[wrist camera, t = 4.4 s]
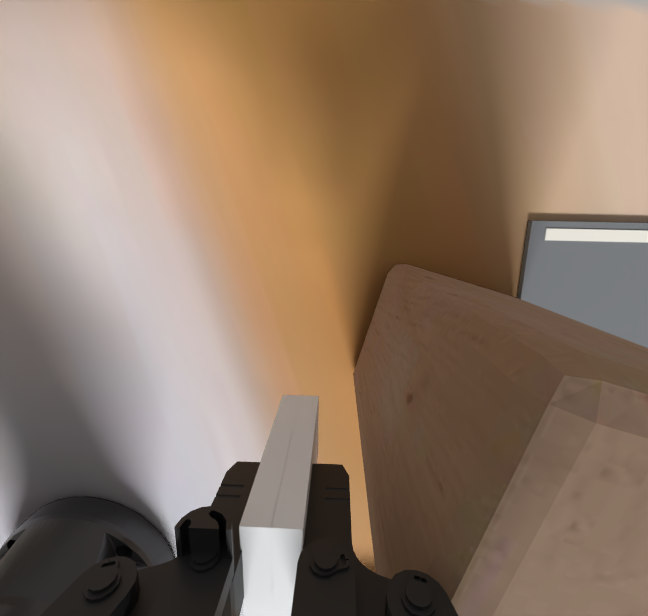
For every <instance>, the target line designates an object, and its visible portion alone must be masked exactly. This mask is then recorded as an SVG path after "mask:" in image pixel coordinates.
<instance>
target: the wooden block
mask: <svg viewBox="0 0 648 616" xmlns="http://www.w3.org/2000/svg"><path fill="white" fill-rule="evenodd" d="M353 375H354V385H355V394H356V403H357V412H358V420H359V429H360V438H361V447H362V456H363V464H364V473H365V482H366V491H367V499H368V508H369V517H370V526H371V535H372V543H373V552H374V561H375V570H376V574H378V575H381V576H384V577H386V578H389V579H392V578H393V576H394V575H395V574H396V573H399V572H401V571H404V570H418V571H420V572H423V573H426V574H428V575H429V576H431V577H432V578H433V579H435V580H436V581H437V582H439V584H440V585H441V586H442V588H443V589H444V590H445V592H446V593H447V595H448V597H449V599H450V601H451V603H452V604H453V606H454V608H455V610H456V612H457V614H458V616H648V348H646V347H644V346H641V345H638V344H636V343H633V342H631V341H628V340H625V339H623V338H620V337H618V336H615V335H612V334H610V333H607V332H605V331H602V330H599V329H597V328H594V327H591V326H589V325H586V324H584V323H581V322H578V321H576V320H573V319H571V318H568V317H565V316H563V315H560V314H558V313H555V312H552V311H550V310H547V309H544V308H542V307H539V306H537V305H534V304H531V303H529V302H526V301H524V300H521V299H518V298H516V297H513V296H510V295H507V294H503V293H500V292H497V291H494V290H490V289H487V288H484V287H480V286H477V285H474V284H471V283H467V282H464V281H461V280H458V279H454V278H451V277H448V276H444V275H441V274H438V273H435V272H431V271H428V270H425V269H422V268H418V267H415V266H412V265H408V264H398V265H394V266H393V268H392V269H391V270H390V271H389V272H388V274H387V277H386V280H385V283H384V286H383V288H382V291H381V294H380V297H379V300H378V303H377V306H376V309H375V312H374V315H373V318H372V321H371V323H370V326H369V329H368V332H367V335H366V338H365V341H364V344H363V347H362V350H361V353H360V356H359V359H358V361H357V364H356V367H355V370H354V373H353Z"/></svg>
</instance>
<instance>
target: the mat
mask: <svg viewBox="0 0 648 616" xmlns="http://www.w3.org/2000/svg"><path fill="white" fill-rule="evenodd" d="M517 298H518V299H521V300H524V301H526V302H529V303H531V304H534V305H537V306H539V307H542V308H544V309H547V310H550V311H552V312H555V313H558V314H560V315H563V316H565V317H568V318H571V319H573V320H576V321H578V322H581V323H584V324H586V325H589V326H591V327H594V328H597V329H599V330H602V331H605V332H607V333H610V334H612V335H615V336H618V337H620V338H623V339H625V340H628V341H631V342H633V343H636V344H638V345H641V346H644V347H646V348H648V223H620V222H570V221H528V227H527V234H526V240H525V247H524V254H523V261H522V267H521V274H520V281H519V288H518V295H517Z"/></svg>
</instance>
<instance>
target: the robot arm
mask: <svg viewBox="0 0 648 616" xmlns="http://www.w3.org/2000/svg"><path fill="white" fill-rule="evenodd" d="M318 405H319V396H300V395H283V396H282V399H281V402H280V405H279V408H278V411H277V414H276V417H275V420H274V423H273V426H272V429H271V432H270V435H269V438H268V441H267V444H266V447H265V450H264V453H263V456H262V459H261V462H237V463H235V464H234V465H233V466H232V467H231V468H230V469H229V470H228V471H227V472H226V474H225V477H224V479H223V481H222V483H221V487H219V490H218V492H217V494H216V497H215V498H214V501H213V503H212V505H211V506H208V507H201V508H199V509H196V510H193V511H191V512H190V513H188V514H187V515H185V516H184V517H183V518H181V519H180V521H179V522H178V523H177V525H176V526H175V538H176V548H177V557H176V558H175V559H174V557H173V554H172V552H171V550H170V548H169V546H168V544H167V542H166V541H165V539H164V538H163V537H162V535H161V534H160V533H159V532H158V531H157V529H156V528H155V527H154V526H153V525H151V524H150V523H149V522H148V521H147V520H146V519H144V518H143V517H142V516H140V515H139V514H137V513H135V512H134V511H132V510H130V509H128V508H126V507H124V506H122V505H119V504H117V503H114V502H111V501H107V500H103V499H98V498H89V497H73V498H66V499H61V500H58V501H55V502H52V503H49V504H47V505H45V506H43V507H42V508H40V509H39V510H37V511H36V512H35V513H33V514H32V515H31V516H30V517H29V518H28V519H27V520H26V521H25V522H24V523H23V524H22V525H21V526H20V527H19V528H17V529H16V530H15V531H14V532H13V533H12V534H11V536H10V537H9V538H8V539H7V540H6V542H5V543H4V544H3V546H2V547H1V549H0V616H239V615H240V611H241V607H242V603H243V616H458V614H457V612H456V610H455V608H454V606H453V604H452V603H451V601H450V599H449V597H448V595H447V593H446V592H445V590H444V589H443V588H442V586H441V585H440V584H439V582H437V581H436V580H435V579H433V578H432V577H431V576H429V575H428V574H426V573H423V572H420V571H418V570H404V571H401V572H399V573H396V574H395V575H394V576H393V578H392V579H389V578H386V577H384V576H381V575H378V574H376V573H374V572H372V571H370V570H369V569H367V568H366V567H365V566H364V565H362V564H361V562H360V561H359V560H358V558H357V557H356V555H355V553H354V551H353V547H352V536H351V512H350V491H349V475H348V473H347V472H346V470H345V468H344V467H343V465H337V464H317V457H318Z"/></svg>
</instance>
